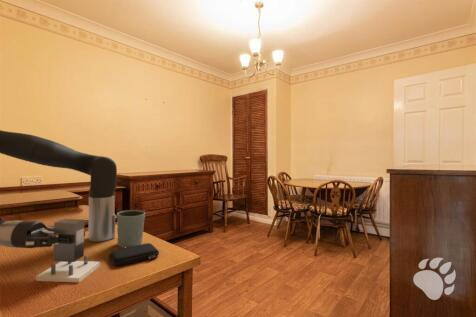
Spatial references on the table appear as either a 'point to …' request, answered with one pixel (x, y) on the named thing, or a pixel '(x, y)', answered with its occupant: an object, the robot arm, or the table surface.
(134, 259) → the carrying case or bag
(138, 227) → the green cup
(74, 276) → the white peg board
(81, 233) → the block
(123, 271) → the table surface
